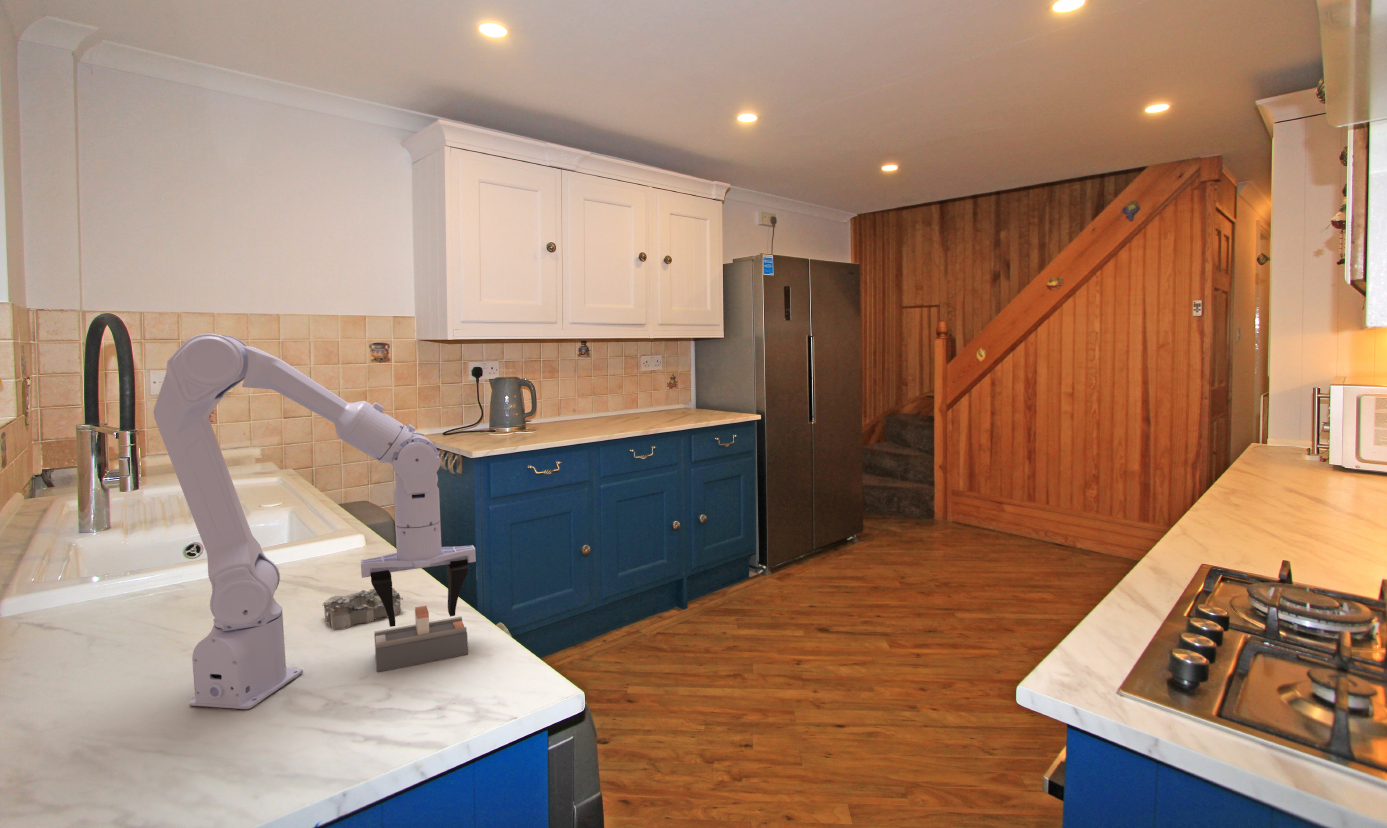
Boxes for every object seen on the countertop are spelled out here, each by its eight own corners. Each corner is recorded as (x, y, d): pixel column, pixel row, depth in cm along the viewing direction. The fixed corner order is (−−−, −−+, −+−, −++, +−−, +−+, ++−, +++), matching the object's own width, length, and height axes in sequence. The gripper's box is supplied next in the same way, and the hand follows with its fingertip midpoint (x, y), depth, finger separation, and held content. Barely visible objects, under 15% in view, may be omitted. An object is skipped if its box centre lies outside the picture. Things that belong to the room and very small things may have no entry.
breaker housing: (376, 672, 89) (375, 646, 89) (375, 653, 94) (374, 629, 94) (468, 654, 94) (467, 629, 94) (461, 637, 100) (460, 614, 99)
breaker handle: (417, 635, 92) (416, 614, 92) (415, 627, 95) (414, 607, 95) (429, 633, 93) (428, 612, 93) (427, 625, 96) (426, 605, 96)
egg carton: (331, 634, 102) (330, 607, 101) (321, 619, 108) (319, 594, 107) (405, 615, 109) (404, 591, 108) (392, 602, 114) (390, 579, 114)
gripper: (359, 536, 86) (365, 639, 87) (477, 522, 92) (481, 619, 94) (358, 524, 92) (363, 620, 93) (469, 511, 99) (473, 602, 100)
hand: (422, 618), depth 94 cm, fingers open, 7 cm apart
